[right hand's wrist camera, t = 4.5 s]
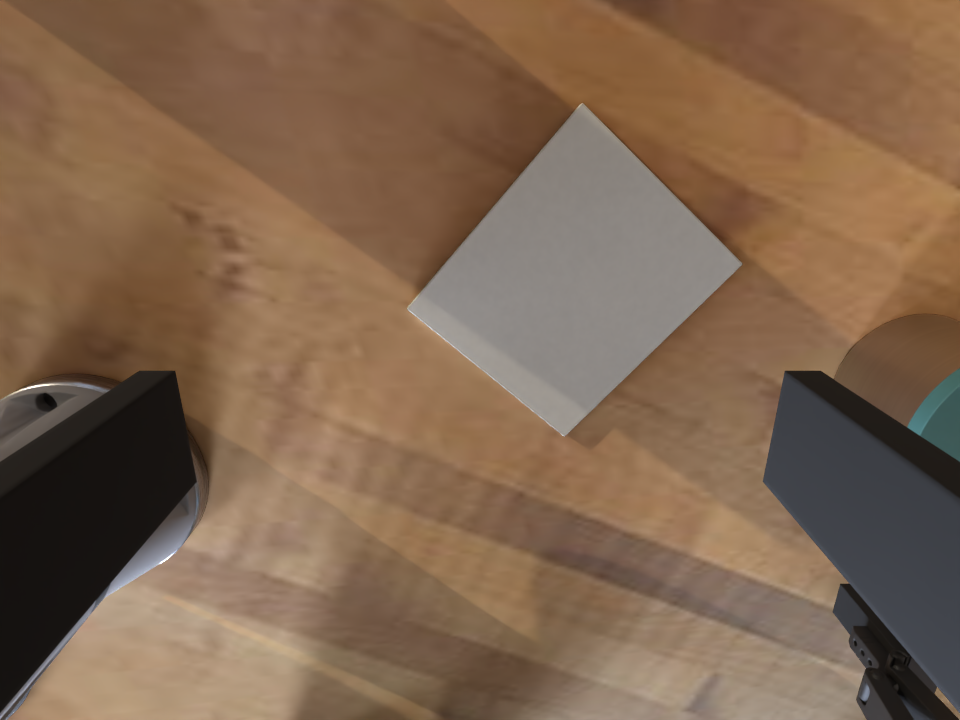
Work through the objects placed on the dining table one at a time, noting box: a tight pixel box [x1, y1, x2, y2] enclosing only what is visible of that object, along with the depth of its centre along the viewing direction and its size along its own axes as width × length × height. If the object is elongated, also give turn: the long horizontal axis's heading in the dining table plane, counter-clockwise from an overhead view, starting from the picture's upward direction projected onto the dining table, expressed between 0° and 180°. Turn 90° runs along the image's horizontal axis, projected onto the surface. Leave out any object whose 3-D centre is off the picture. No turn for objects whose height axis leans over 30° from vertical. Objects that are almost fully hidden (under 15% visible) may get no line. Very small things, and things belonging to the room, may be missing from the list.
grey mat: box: [407, 103, 742, 437], centre depth 36 cm, size 16×14×1 cm
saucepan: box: [834, 314, 960, 693], centre depth 38 cm, size 25×10×8 cm, turn 0°
